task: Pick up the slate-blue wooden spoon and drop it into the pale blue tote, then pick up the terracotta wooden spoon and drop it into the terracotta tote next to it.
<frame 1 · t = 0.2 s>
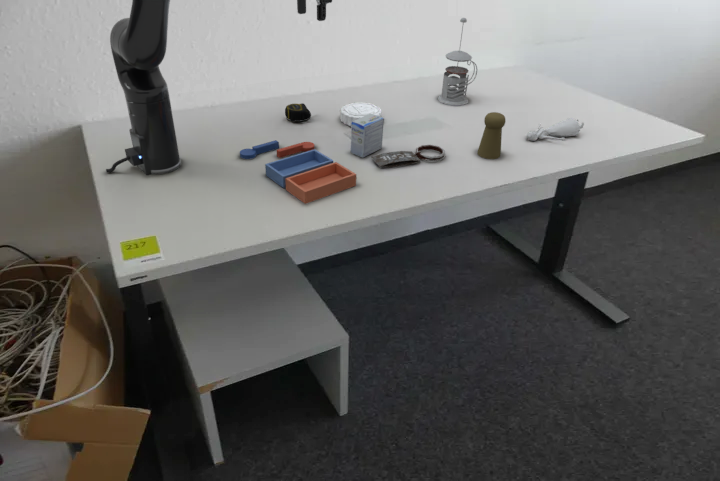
hand: (311, 17, 140), 29 cm above the table, tool pointing down, fingers open, 8 cm apart
olive game pawn: (488, 154, 144), on the table
mooncake: (360, 120, 161), on the table
blue spoon: (259, 152, 141), on the table
woman figurine: (552, 137, 155), on the table
french press: (455, 100, 178), on the table
terracotta spoon: (296, 151, 142), on the table
blue tote: (300, 173, 132), on the table
tape measure: (299, 119, 160), on the table
medicine box: (366, 151, 144), on the table
keychain: (409, 159, 141), on the table
terracotta tote: (321, 187, 127), on the table
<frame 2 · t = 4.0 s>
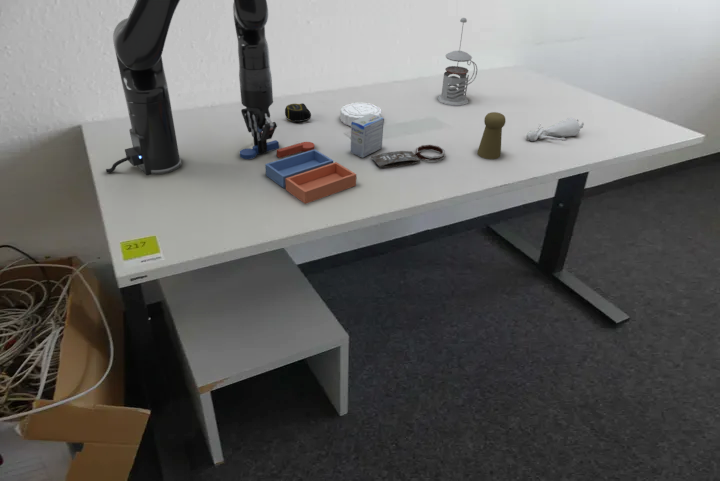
hand: (260, 151, 141), 0 cm above the table, tool pointing down, fingers closed on blue spoon, 1 cm apart
blue spoon: (259, 152, 141), on the table, touching gripper
everything else where it was.
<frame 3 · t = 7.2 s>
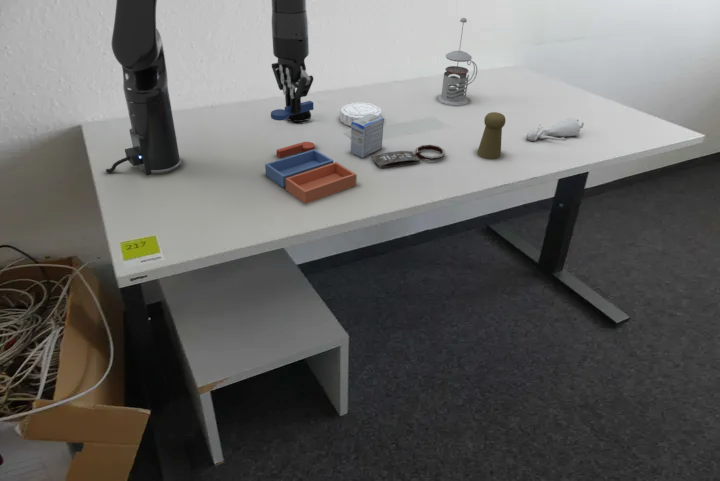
hand: (293, 111, 125), 15 cm above the table, tool pointing down, fingers closed on blue spoon, 1 cm apart
blue spoon: (292, 114, 125), point 14 cm above the table, touching gripper
everything else where it was.
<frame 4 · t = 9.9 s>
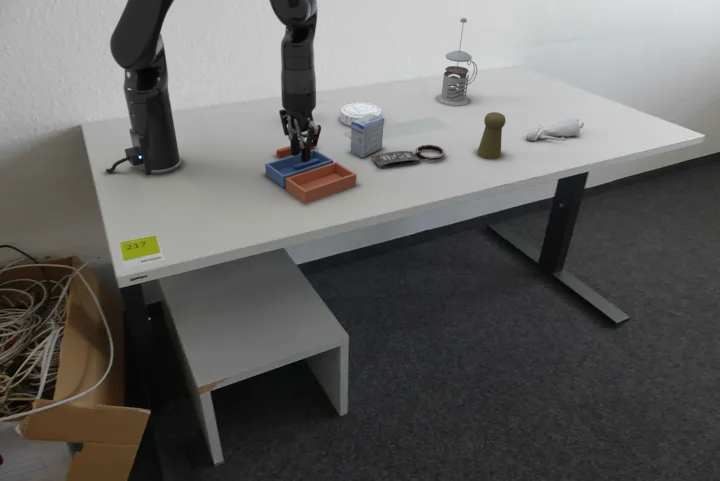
hand: (300, 157, 130), 4 cm above the table, tool pointing down, fingers open, 3 cm apart
blue spoon: (299, 171, 132), point 1 cm above the table, touching blue tote
everything else where it was.
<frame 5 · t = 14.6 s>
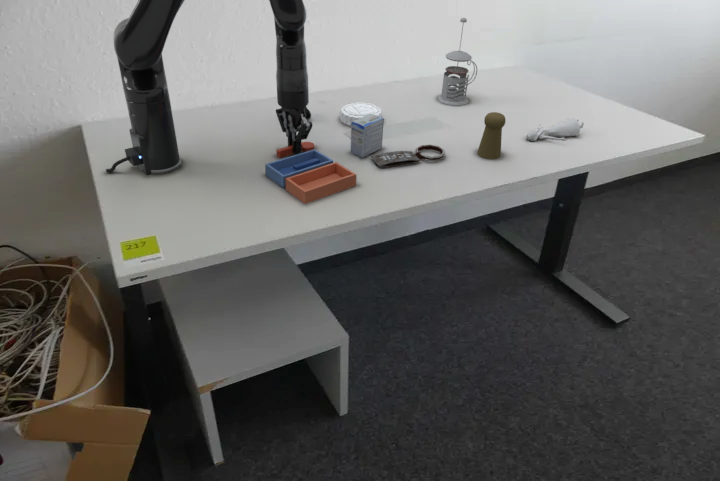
hand: (294, 151, 141), 0 cm above the table, tool pointing down, fingers closed on terracotta spoon, 1 cm apart
terracotta spoon: (296, 151, 142), on the table, touching gripper
everything else where it was.
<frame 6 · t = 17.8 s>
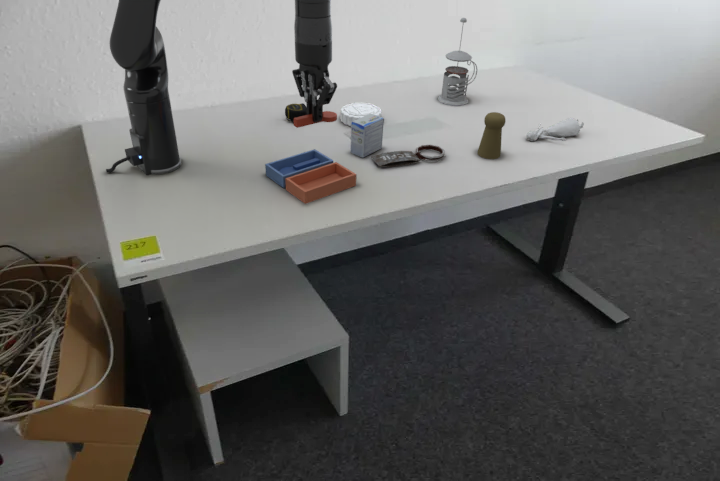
hand: (314, 119, 121), 15 cm above the table, tool pointing down, fingers closed on terracotta spoon, 1 cm apart
terracotta spoon: (316, 121, 121), point 14 cm above the table, touching gripper
everything else where it was.
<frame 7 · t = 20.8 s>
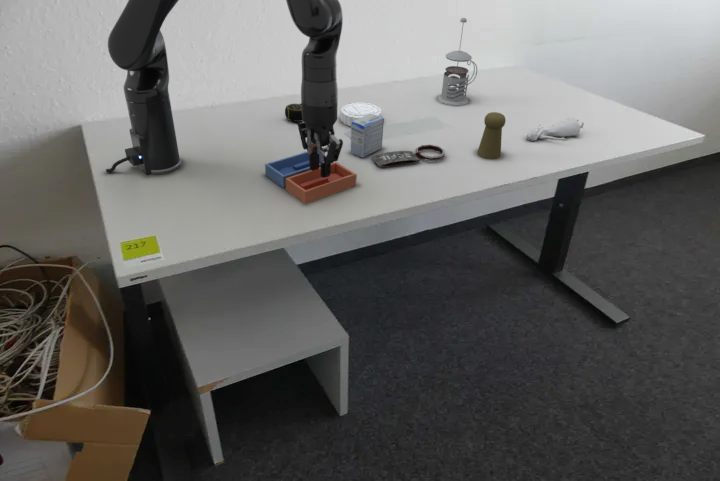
hand: (320, 172, 124), 4 cm above the table, tool pointing down, fingers open, 3 cm apart
terracotta spoon: (321, 185, 126), resting on terracotta tote
everything else where it was.
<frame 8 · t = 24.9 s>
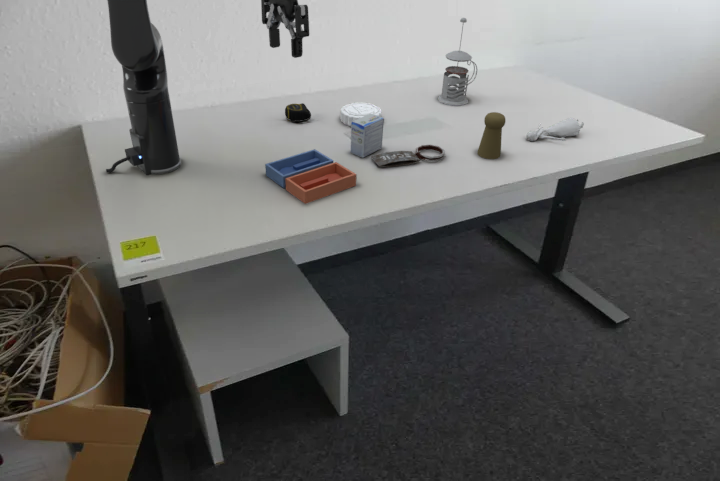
hand: (285, 51, 117), 28 cm above the table, tool pointing down, fingers open, 8 cm apart
nothing on the table moved.
at the end: blue spoon inside the target area in the blue tote (0.1 cm from its centre), point 0.5 cm above the blue tote's base; terracotta spoon inside the target area in the terracotta tote (0.1 cm from its centre), point 0.5 cm above the terracotta tote's base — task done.
